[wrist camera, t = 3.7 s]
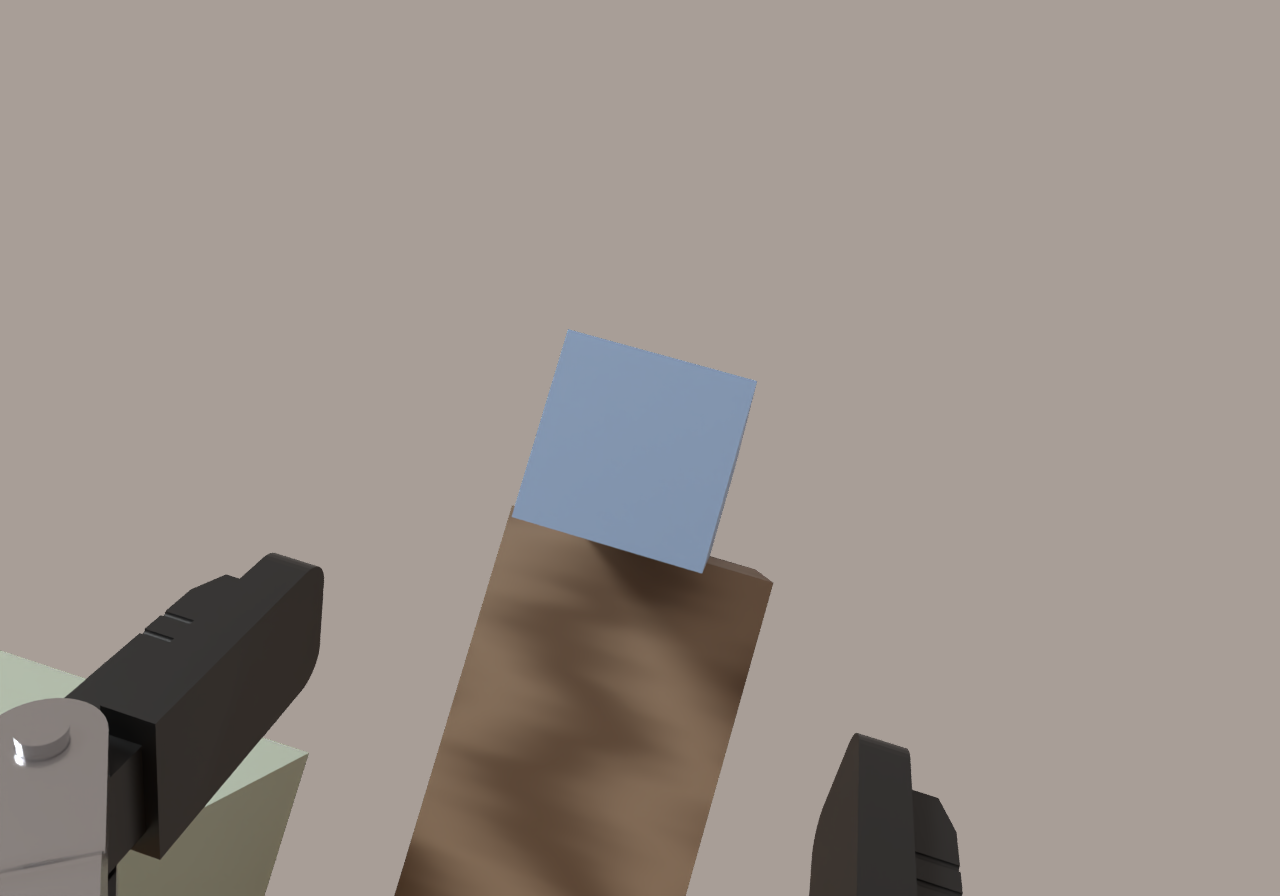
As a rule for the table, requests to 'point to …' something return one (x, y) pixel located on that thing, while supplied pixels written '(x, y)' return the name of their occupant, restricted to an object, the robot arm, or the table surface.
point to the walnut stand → (586, 723)
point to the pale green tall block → (224, 829)
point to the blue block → (635, 450)
